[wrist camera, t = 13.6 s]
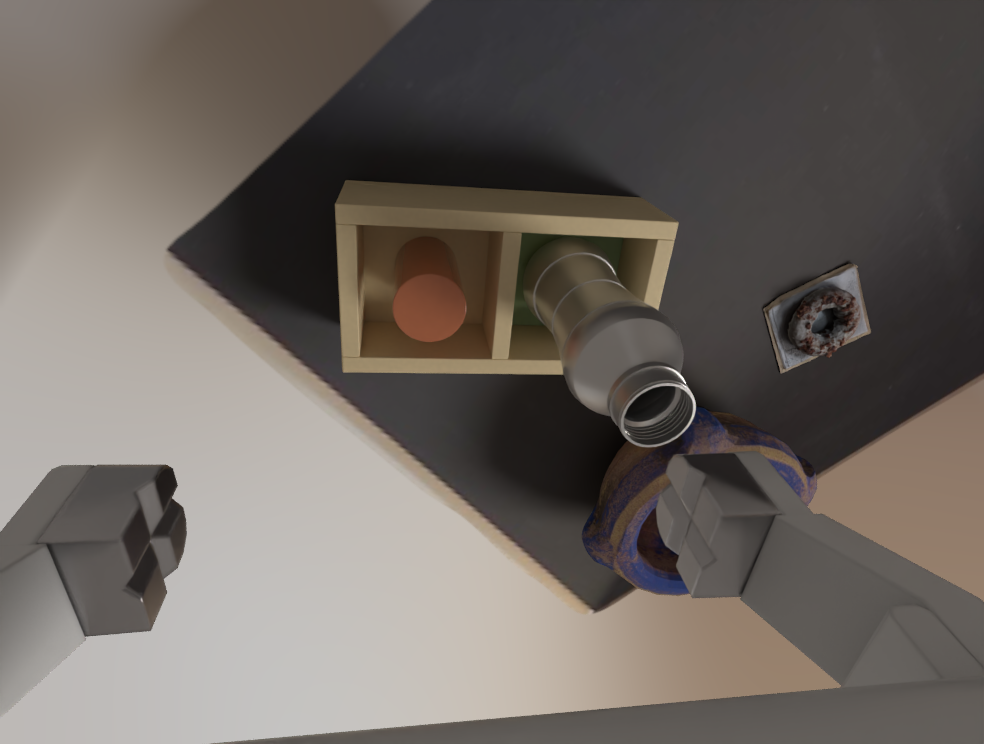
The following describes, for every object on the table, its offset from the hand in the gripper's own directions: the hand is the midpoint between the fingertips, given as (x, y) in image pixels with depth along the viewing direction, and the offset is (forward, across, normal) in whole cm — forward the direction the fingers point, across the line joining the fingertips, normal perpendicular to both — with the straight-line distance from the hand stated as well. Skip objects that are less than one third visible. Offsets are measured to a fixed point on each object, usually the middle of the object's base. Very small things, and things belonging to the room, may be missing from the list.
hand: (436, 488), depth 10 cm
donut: (+35, -35, +13) cm, 51 cm away
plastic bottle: (+34, -11, +8) cm, 37 cm away
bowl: (+35, -25, +28) cm, 51 cm away
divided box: (+35, -6, +8) cm, 37 cm away
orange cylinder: (+34, -1, +8) cm, 35 cm away
